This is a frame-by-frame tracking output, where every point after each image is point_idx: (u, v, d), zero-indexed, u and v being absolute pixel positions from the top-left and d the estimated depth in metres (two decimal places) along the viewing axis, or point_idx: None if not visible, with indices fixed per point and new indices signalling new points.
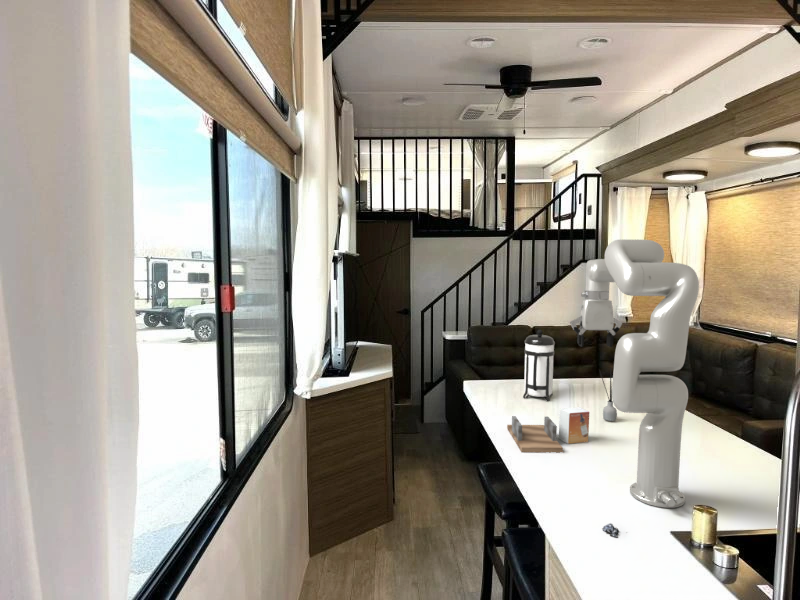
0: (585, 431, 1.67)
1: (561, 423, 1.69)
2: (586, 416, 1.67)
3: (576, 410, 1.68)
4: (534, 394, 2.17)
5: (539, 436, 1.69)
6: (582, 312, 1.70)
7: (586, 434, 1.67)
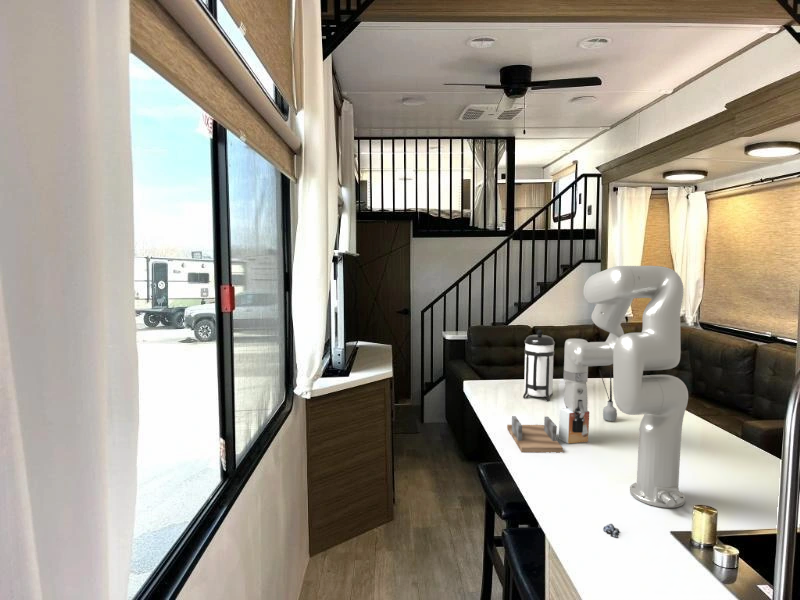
0: (585, 430, 1.67)
1: (561, 423, 1.69)
2: (586, 416, 1.67)
3: (576, 410, 1.68)
4: (534, 394, 2.17)
5: (539, 436, 1.69)
6: (582, 396, 1.63)
7: (586, 434, 1.67)
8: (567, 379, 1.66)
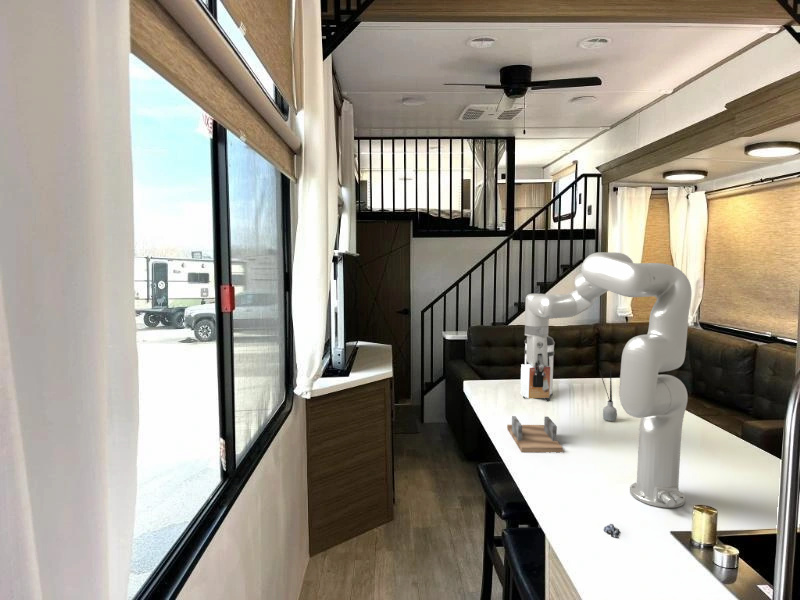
0: (546, 386, 1.66)
1: (522, 379, 1.68)
2: (547, 371, 1.65)
3: None
4: None
5: (539, 436, 1.69)
6: (542, 350, 1.62)
7: (547, 389, 1.66)
8: (527, 334, 1.65)
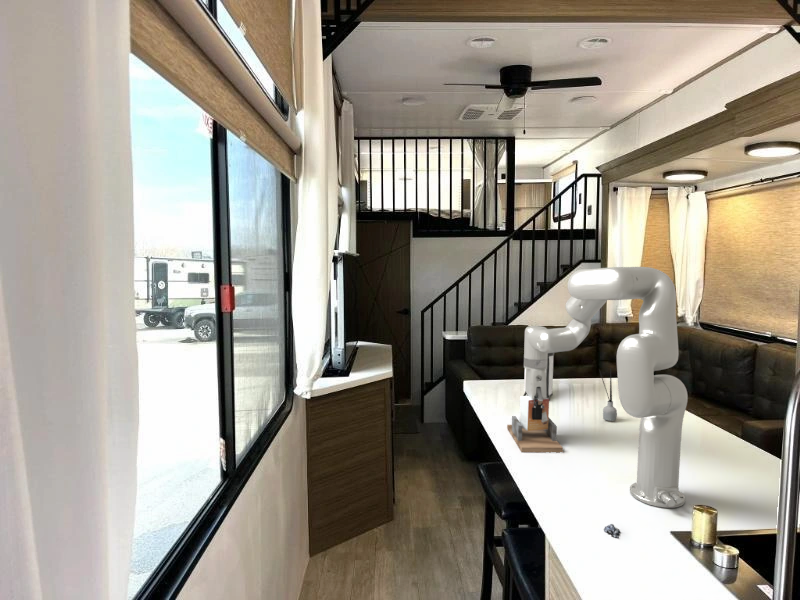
0: (544, 418, 1.67)
1: (521, 411, 1.69)
2: (546, 403, 1.66)
3: (536, 397, 1.67)
4: None
5: (539, 436, 1.69)
6: (540, 383, 1.63)
7: (546, 421, 1.67)
8: (526, 366, 1.65)
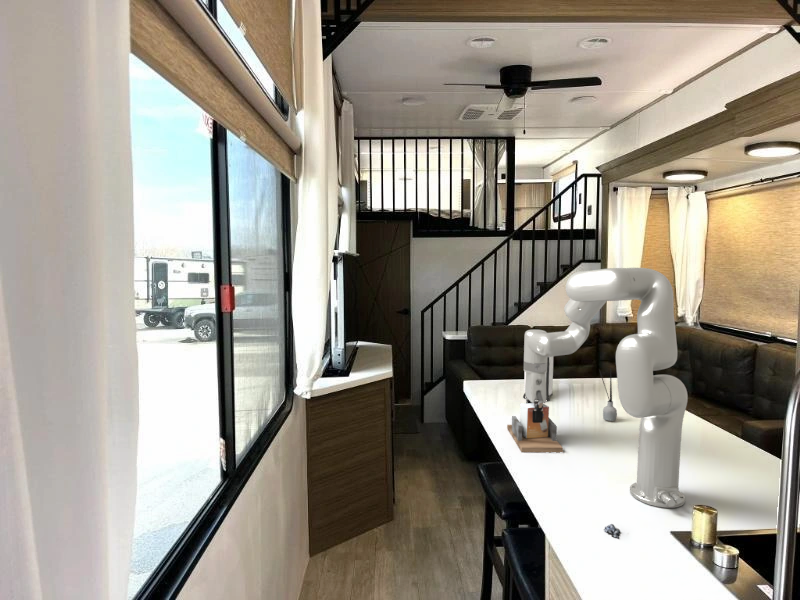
0: (544, 426, 1.67)
1: (521, 418, 1.69)
2: (545, 411, 1.66)
3: None
4: None
5: None
6: (540, 387, 1.63)
7: (546, 429, 1.67)
8: (526, 370, 1.66)
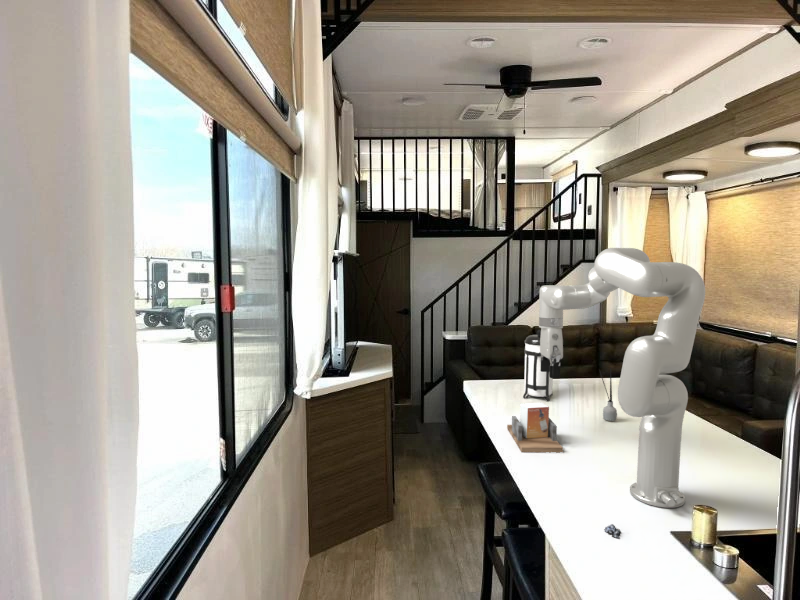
0: (544, 426, 1.67)
1: (521, 418, 1.69)
2: (545, 411, 1.66)
3: (536, 405, 1.68)
4: (534, 394, 2.17)
5: None
6: (557, 341, 1.60)
7: (546, 429, 1.67)
8: (542, 325, 1.63)
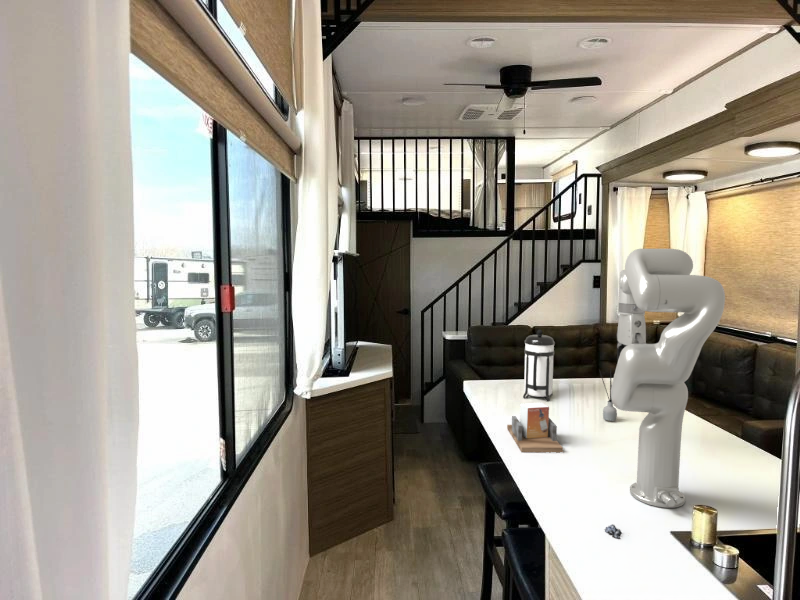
0: (544, 426, 1.67)
1: (521, 418, 1.69)
2: (545, 411, 1.66)
3: (536, 405, 1.68)
4: (534, 394, 2.17)
5: None
6: (640, 329, 1.51)
7: (546, 429, 1.67)
8: (623, 312, 1.54)
